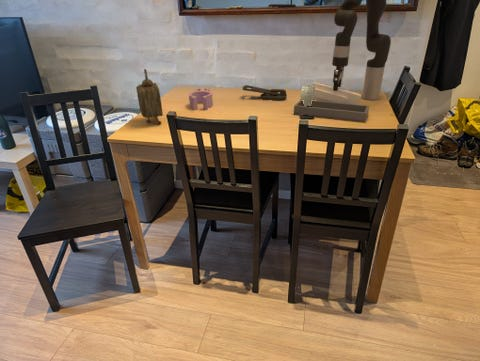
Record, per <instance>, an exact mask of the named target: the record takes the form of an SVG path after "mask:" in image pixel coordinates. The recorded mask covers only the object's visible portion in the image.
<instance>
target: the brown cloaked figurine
mask: <svg viewBox="0 0 480 361" xmlns="http://www.w3.org/2000/svg"><path fill="white" fill-rule="evenodd" d="M143 71H144V72H143V73H144V78H145V79H143V80H142V82H141V84H139V85H137V86H136V88H135V89H136V94H137V100H138V106H139V111H140V114H141V116H142V117H143V118H147V119H146V122H147V123H150V122H151V120H150V118H154V119H156V121H157V124H158V125H162V121H161V120H159V117H163V116H164V115H163V107H162V106H163V105H162V100H161V94H160V93H161V92H160V88H159V86H158V84H157V83H156V82H153V81H152V80H151V79H149V78H148V72H147V69H146V68H144V69H143Z"/></svg>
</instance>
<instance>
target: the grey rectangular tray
mask: <svg viewBox="0 0 480 361" xmlns="http://www.w3.org/2000/svg"><path fill="white" fill-rule="evenodd" d="M369 110H370V105H365V104H358V105H356V104H345V103H335V102H324V101H316V100H313V101H312V107H307V106H303V101H302V98H301V99H299V100H298V101H297V102H296V103H295V104H294V106H293V115H294V116H301V115H300V114H308V115H312V116H314V117H313V118H320V119H329V120H339V121H347V122H355V123H364V124H365V123H366V120H367V117H368V115H369Z"/></svg>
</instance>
